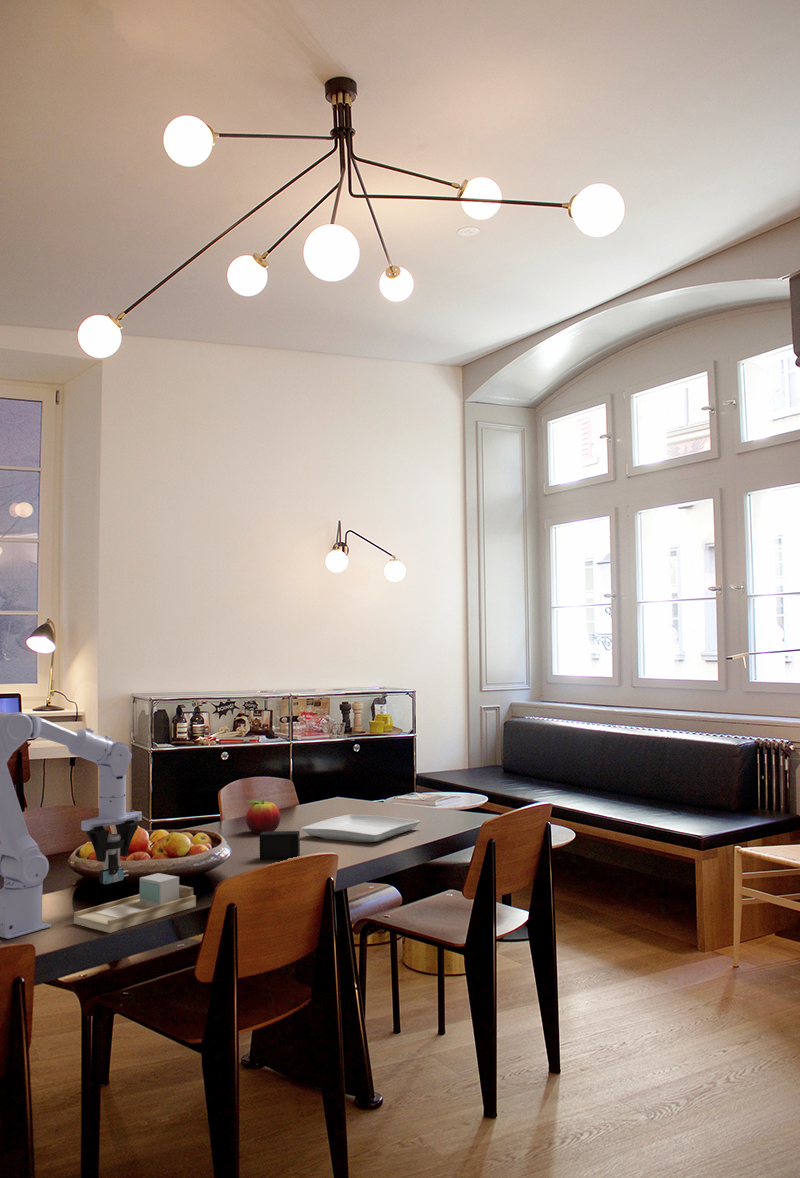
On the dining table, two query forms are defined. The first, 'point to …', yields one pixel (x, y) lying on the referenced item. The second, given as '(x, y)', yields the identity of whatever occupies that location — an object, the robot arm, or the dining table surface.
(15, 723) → the robot arm
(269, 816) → the fruit
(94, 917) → the beige tray
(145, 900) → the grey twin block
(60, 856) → the dining table surface
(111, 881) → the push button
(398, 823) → the square plate
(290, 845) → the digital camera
